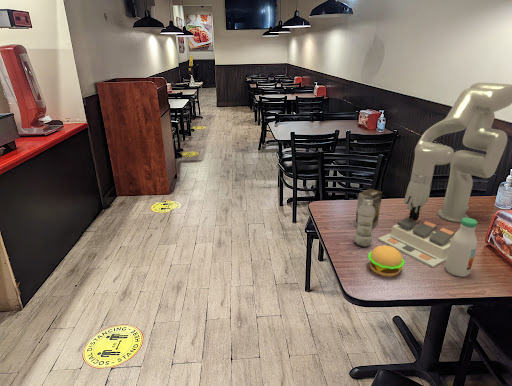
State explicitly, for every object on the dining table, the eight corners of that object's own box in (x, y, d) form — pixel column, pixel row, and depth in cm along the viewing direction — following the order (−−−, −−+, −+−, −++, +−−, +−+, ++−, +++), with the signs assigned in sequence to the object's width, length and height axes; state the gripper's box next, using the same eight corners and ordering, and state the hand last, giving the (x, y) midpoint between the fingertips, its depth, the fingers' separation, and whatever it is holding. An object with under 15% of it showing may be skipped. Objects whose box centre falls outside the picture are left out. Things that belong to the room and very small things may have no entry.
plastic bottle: (372, 249, 135) (378, 202, 128) (354, 247, 136) (359, 201, 129) (370, 241, 141) (376, 196, 134) (353, 239, 142) (358, 194, 135)
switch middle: (425, 223, 140) (425, 220, 139) (436, 228, 136) (437, 225, 135) (412, 232, 137) (412, 230, 136) (424, 237, 133) (424, 235, 132)
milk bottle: (458, 279, 117) (472, 227, 110) (439, 267, 124) (451, 217, 116) (474, 274, 120) (488, 222, 112) (454, 262, 126) (467, 213, 119)
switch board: (403, 229, 151) (405, 218, 149) (458, 253, 132) (461, 241, 130) (377, 239, 142) (379, 228, 140) (432, 268, 123) (435, 255, 121)
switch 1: (409, 218, 146) (409, 215, 145) (420, 222, 142) (420, 220, 141) (397, 224, 142) (397, 221, 141) (408, 229, 138) (408, 226, 138)
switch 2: (441, 230, 135) (441, 227, 134) (454, 235, 131) (454, 232, 130) (429, 240, 131) (429, 237, 131) (441, 245, 128) (442, 243, 127)
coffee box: (366, 231, 149) (371, 197, 143) (354, 226, 153) (358, 192, 147) (378, 225, 154) (383, 191, 148) (365, 220, 159) (369, 187, 153)
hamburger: (361, 260, 128) (364, 240, 125) (393, 259, 129) (396, 239, 126) (374, 280, 117) (377, 258, 114) (408, 278, 118) (413, 257, 114)
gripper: (423, 172, 143) (415, 212, 150) (401, 178, 135) (394, 220, 142) (441, 177, 137) (432, 218, 144) (418, 184, 129) (410, 227, 136)
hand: (413, 219), depth 143 cm, fingers closed
